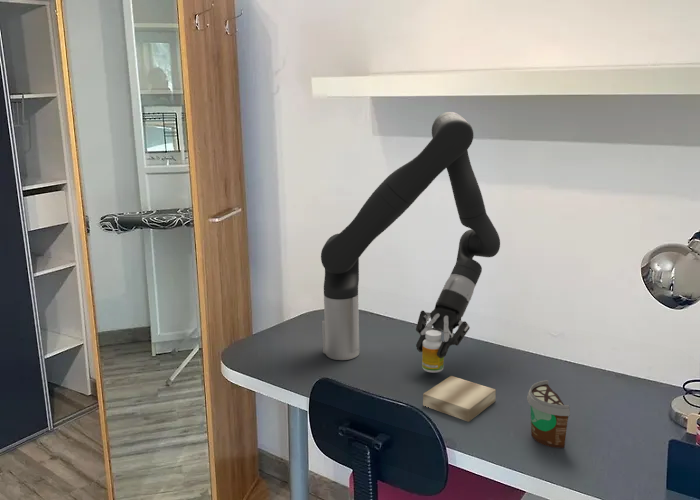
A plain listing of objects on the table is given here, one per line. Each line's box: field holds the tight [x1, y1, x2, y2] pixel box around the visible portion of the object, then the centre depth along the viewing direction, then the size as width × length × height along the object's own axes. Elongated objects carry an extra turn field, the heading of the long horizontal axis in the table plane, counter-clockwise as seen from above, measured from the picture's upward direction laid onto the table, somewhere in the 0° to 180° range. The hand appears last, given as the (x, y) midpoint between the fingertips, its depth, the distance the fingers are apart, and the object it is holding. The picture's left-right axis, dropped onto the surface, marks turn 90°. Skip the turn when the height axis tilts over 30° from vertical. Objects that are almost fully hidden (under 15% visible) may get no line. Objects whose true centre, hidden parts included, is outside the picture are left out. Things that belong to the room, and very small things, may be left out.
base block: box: [422, 375, 497, 423], centre depth 154 cm, size 12×12×3 cm
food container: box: [526, 379, 571, 449], centre depth 139 cm, size 12×6×10 cm, turn 5°
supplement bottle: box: [421, 330, 445, 374], centre depth 168 cm, size 5×5×10 cm
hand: (429, 353), depth 166 cm, fingers closed on supplement bottle, 5 cm apart
